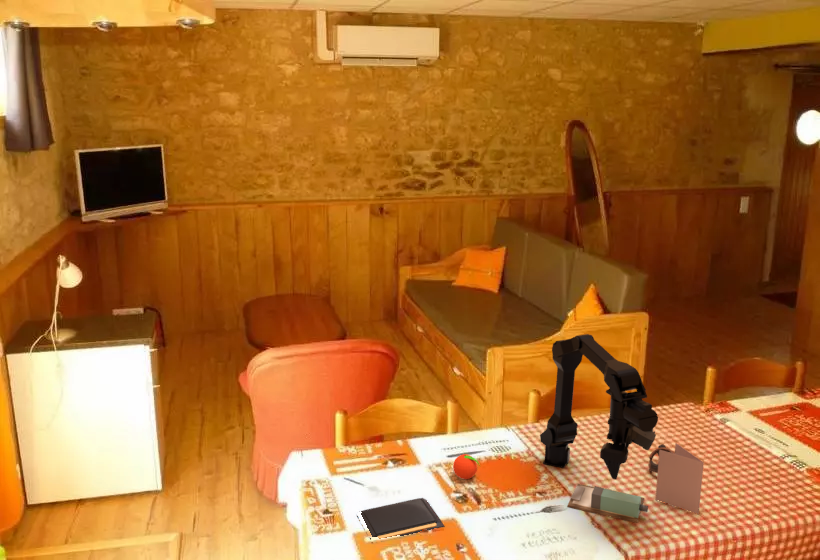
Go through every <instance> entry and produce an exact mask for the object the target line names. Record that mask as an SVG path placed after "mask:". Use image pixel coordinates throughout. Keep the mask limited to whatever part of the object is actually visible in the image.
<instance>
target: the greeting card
mask: <svg viewBox="0 0 820 560" xmlns="http://www.w3.org/2000/svg"><path fill="white" fill-rule="evenodd" d="M674 452H675V454H673V453H670V452H666V451H662V450H659V456H658V463H657V464H658V473H657V475H656V476H657V477H656V487H655V489H656V490H655V501H657V500H659V501H658V502H660V501H662V502H661V503H663V502H665V503H664V504H666V503H668V504H667V505H669V504H670V505H669V506H672V505H673V506H672V507H675V506H676V507H675V508H678V507H679V508H678V509H681V508H682V510H684V509H685V510H684V511H687V510H688V511H687V512H690V511H691V512H690V513H693V512H694V513H693V514H696V513H697V514H696V515H699V514H700V505H701V494H702V487H703V486H702V484H703V475H704V471H703V470H704V464H705V463H704V461H703V460H701V459H699V458H698V457H697V456H695V455H694V454H692V453H691V452H689V451H688V450H687V449H685V448H684V447H683V446H682V445H680V444H678V443H676V442H675V446H674Z"/></svg>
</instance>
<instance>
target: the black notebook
mask: <svg viewBox="0 0 820 560" xmlns="http://www.w3.org/2000/svg"><path fill="white" fill-rule="evenodd" d="M427 501H428V500H427V499H426V498H424V497H420V498H419V497H418V498H415V499H409V500H404V501H400V502H395V503H390V504H386V505H382V506H377V507H373V508H368V509H364V510H360V511H361V512H362V513H361V515H362V517H363V519H364V521H365V523H366V525H367V528H368V529H369V531H370V533H371V535H372V537H378V538H379V539H381V538H387V537H392V536H397V535H400V536H403V537H405V536H404V535H407V536H410V535H409V534H411V535H414V534H413V533H416V534H419V533H418V532H420V531H422V529H427V530H428V531H431V529H432V530H435V529H434V528H437V529H440V528H445V526H446V525H444V523H443V522H442V520H441V518H440V516H439V515H438V514H437V513H436V511H435V510H434V508H433V507H432V506H430V505H431V504H430V502H429V501H428V502H427ZM420 533H421V532H420Z"/></svg>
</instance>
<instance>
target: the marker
mask: <svg viewBox="0 0 820 560" xmlns="http://www.w3.org/2000/svg"><path fill="white" fill-rule="evenodd" d="M593 487H594V490H593V492H592V497H591V508H595V509H599V510H604V511H609V512H613V513H617V514H622V515H626V516H631V517H635V518H638V516H639V517H640V515H639V513H640V514H641V512H644V513H648V510H649V505H645V504H643V505H641V497H642V496H640V495H635V494H631V493H626V492H621V491H616V490H612V489H607V488H605V487H602V486H601V487H600V486H595V485H594V486H593ZM640 511H641V512H640ZM638 519H639V518H638Z"/></svg>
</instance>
